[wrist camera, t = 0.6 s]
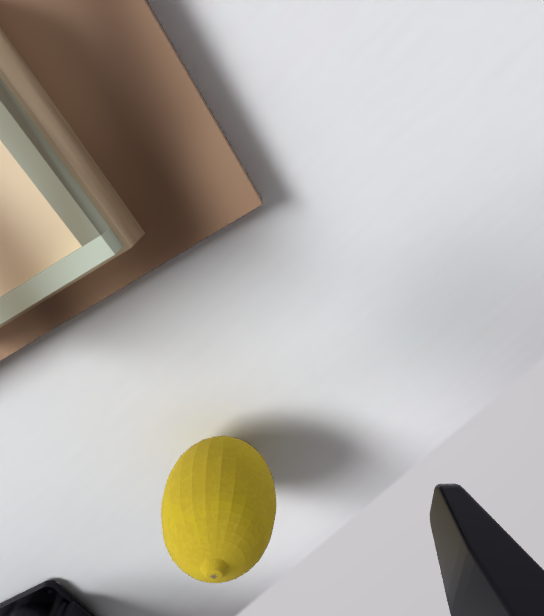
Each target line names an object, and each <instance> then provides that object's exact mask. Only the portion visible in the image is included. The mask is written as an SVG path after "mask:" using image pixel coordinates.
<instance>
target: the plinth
mask: <svg viewBox="0 0 544 616" xmlns="http://www.w3.org/2000/svg"><path fill="white" fill-rule="evenodd" d="M260 205H262V199H261V197H260V196H259V194H258V192H257V190H256V189H255V187H254V185H253V183H252V182H251V180H250V178H249V177H248V175H247V173H246V171H245V170H244V168H243V166H242V164H241V163H240V161H239V159H238V158H237V156H236V154H235V152H234V151H233V149H232V147H231V145H230V144H229V142H228V140H227V138H226V137H225V135H224V133H223V132H222V130H221V128H220V126H219V125H218V123H217V121H216V119H215V118H214V116H213V114H212V113H211V111H210V109H209V107H208V106H207V104H206V102H205V100H204V99H203V97H202V95H201V94H200V92H199V90H198V88H197V87H196V85H195V83H194V81H193V80H192V78H191V76H190V75H189V73H188V71H187V69H186V68H185V66H184V64H183V62H182V61H181V59H180V57H179V56H178V54H177V52H176V50H175V49H174V47H173V45H172V43H171V42H170V40H169V38H168V37H167V35H166V33H165V31H164V30H163V28H162V26H161V24H160V23H159V21H158V19H157V18H156V16H155V14H154V12H153V11H152V9H151V7H150V5H149V4H148V2H147V0H0V361H1V360H2V359H4V358H6V357H7V356H9V355H11V354H12V353H14V352H16V351H17V350H19V349H21V348H22V347H24V346H26V345H27V344H29V343H31V342H32V341H34V340H36V339H37V338H39V337H41V336H42V335H44V334H46V333H48V332H49V331H51V330H53V329H54V328H56V327H58V326H59V325H61V324H63V323H64V322H66V321H68V320H69V319H71V318H73V317H74V316H76V315H78V314H79V313H81V312H83V311H84V310H86V309H88V308H89V307H91V306H93V305H94V304H96V303H98V302H99V301H101V300H103V299H105V298H106V297H108V296H110V295H111V294H113V293H115V292H116V291H118V290H120V289H121V288H123V287H125V286H126V285H128V284H130V283H131V282H133V281H135V280H136V279H138V278H140V277H141V276H143V275H145V274H146V273H148V272H150V271H151V270H153V269H155V268H156V267H158V266H160V265H162V264H163V263H165V262H167V261H168V260H170V259H172V258H173V257H175V256H177V255H178V254H180V253H182V252H183V251H185V250H187V249H188V248H190V247H192V246H193V245H195V244H197V243H198V242H200V241H202V240H203V239H205V238H207V237H208V236H210V235H212V234H213V233H215V232H217V231H219V230H220V229H222V228H224V227H225V226H227V225H229V224H230V223H232V222H234V221H235V220H237V219H239V218H240V217H242V216H244V215H245V214H247V213H249V212H250V211H252V210H254V209H255V208H257V207H259V206H260Z"/></svg>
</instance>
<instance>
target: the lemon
mask: <svg viewBox="0 0 544 616" xmlns="http://www.w3.org/2000/svg"><path fill="white" fill-rule="evenodd" d="M275 514H276V494H275V487H274V481H273V477H272V474H271V472H270V470H269V468H268V466H267V464H266V462H265V460H264V458H263V457H262V456H261V455H260V454H259V452H258V451H257V450H256V449H255V448H254V447H252V446H251V445H249V444H248V443H246V442H245V441H242V440H240V439H237V438H234V437H227V436H217V437H212V438H208V439H205V440H202V441H200V442H198V443H196V444H195V445H193V446H191V447H190V448H189V449H188V450H187V451H186V452H185V453H184V454H183V455H182V456H181V457H180V458H179V459H178V461H177V463H176V464H175V466H174V468H173V469H172V471H171V473H170V475H169V477H168V480H167V483H166V487H165V491H164V495H163V500H162V508H161V518H162V529H163V537H164V542H165V545H166V548H167V550H168V552H169V554H170V556H171V558H172V560H173V561H174V562H175V563H176V564H177V565H178V567H179V568H180V569H181V570H182V571H183V572H185V573H186V574H188V575H189V576H191V577H193V578H195V579H197V580H200V581H204V582H209V583H221V582H227V581H230V580H233V579H236V578H238V577H239V576H241V575H243V574H244V573H246V572H248V571H249V570H250V569H251V568H252V567H253V566H254V565H255V564H256V563H257V562H258V561H259V559H260V558H261V557H262V555H263V553H264V551H265V549H266V548H267V545H268V543H269V541H270V538H271V534H272V530H273V525H274V520H275Z"/></svg>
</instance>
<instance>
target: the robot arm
mask: <svg viewBox="0 0 544 616" xmlns="http://www.w3.org/2000/svg"><path fill="white" fill-rule="evenodd" d="M430 523H431V528H432V533H433V537H434V541H435V546H436V551H437V556H438V560H439V565H440V569H441V574H442V578H443V583H444V587H445V592H446V596H447V601H448V605H449V609H450V613H451V616H544V570H543V569H542V568H541V567H540V566H539V565H538V564H537V563H536V562H535V561H534V560H533V559H532V558H531V557H530V556H529V555H528V554H527V553H526V552H525V551H524V550H523V549H522V548H521V547H520V546H519V545H518V544H517V543H516V542H515V541H514V540H513V538H512V537H511V536H510V535H509V534H508V533H507V532H506V531H505V530H504V529H503V528H502V527H501V526H500V525H499V524H498V523H497V522H496V521H495V520H494V519H493V518H492V517H491V516H490V515H489V514H488V513H487V512H486V511H485V510H484V509H483V508H482V507H481V506H480V505H479V504H478V503H477V502H476V501H475V500H474V499H473V498H472V497H471V496H470V495H469V494H468V493H467V492H466V491H465V490H464V489H463V488H462V487H461V486H460V485H458V484H438V485H437V486H436V487H435V489H434V494H433V500H432V505H431V510H430ZM0 616H94V615H93V614H92V613H91V612H90V611H89V610H87V609H86V608H85V607H84V606H83V605H82V604H81V603H79V602H78V601H77V600H76V599H75V598H74V597H72V596H71V595H70V594H69V593H68V592H67V591H66V590H64V589H63V588H62V587H61V586H60V585H59V584H58V583H56V582H54V581H46V582H44V583H42V584H39V585H37V586H35V587H33V588H31V589H29V590H27V591H25V592H23V593H21V594H19V595H17V596H15V597H13V598H11V599H9V600H7V601H5V602H3V603H1V604H0Z"/></svg>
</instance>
